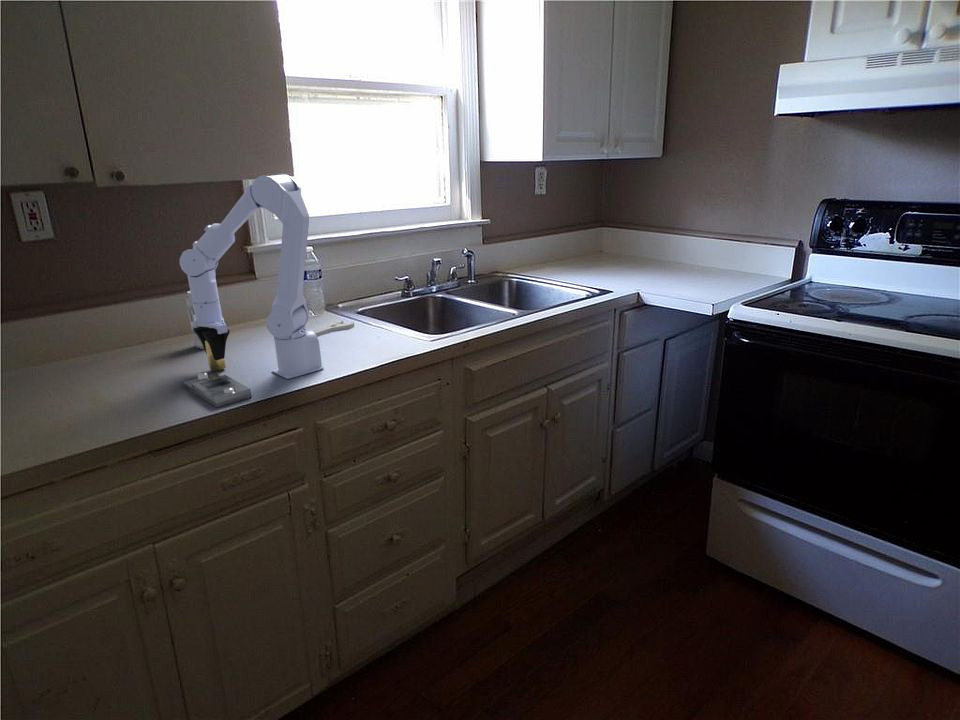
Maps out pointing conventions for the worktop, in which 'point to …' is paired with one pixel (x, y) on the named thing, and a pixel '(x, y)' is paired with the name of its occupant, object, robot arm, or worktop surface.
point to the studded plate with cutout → (218, 389)
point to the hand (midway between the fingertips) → (216, 357)
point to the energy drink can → (191, 313)
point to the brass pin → (212, 362)
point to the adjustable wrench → (334, 327)
